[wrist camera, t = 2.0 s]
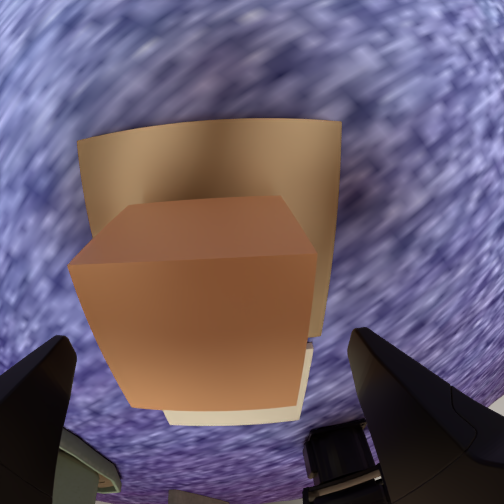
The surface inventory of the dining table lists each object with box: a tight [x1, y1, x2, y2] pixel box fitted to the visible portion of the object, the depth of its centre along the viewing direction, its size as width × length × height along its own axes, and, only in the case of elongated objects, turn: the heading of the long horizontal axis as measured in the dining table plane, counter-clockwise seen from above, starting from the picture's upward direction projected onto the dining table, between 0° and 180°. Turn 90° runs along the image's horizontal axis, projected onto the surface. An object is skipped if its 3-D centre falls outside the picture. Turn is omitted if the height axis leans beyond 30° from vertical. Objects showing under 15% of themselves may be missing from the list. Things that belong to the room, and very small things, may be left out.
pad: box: [163, 343, 314, 426], centre depth 20 cm, size 12×10×1 cm
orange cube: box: [67, 195, 318, 411], centre depth 9 cm, size 6×6×5 cm
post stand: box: [77, 118, 342, 338], centre depth 11 cm, size 12×12×8 cm
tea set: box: [52, 428, 122, 504], centre depth 21 cm, size 40×40×16 cm
